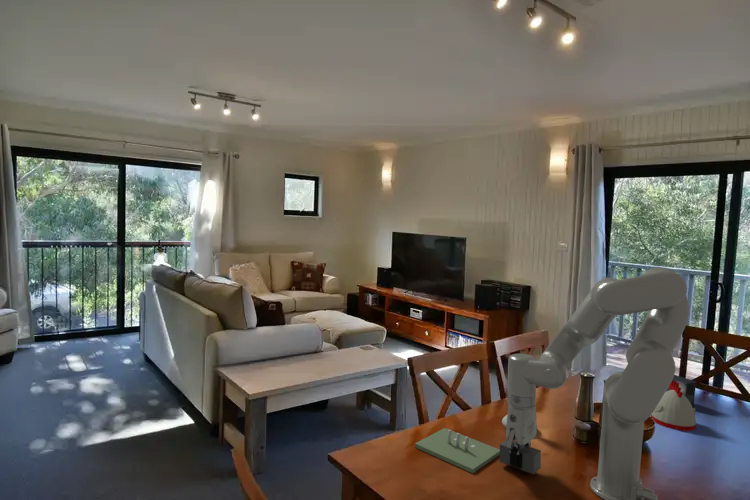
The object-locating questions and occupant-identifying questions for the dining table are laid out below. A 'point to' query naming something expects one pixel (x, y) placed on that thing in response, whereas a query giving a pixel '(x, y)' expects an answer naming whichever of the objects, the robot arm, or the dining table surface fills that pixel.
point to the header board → (458, 449)
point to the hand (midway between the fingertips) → (519, 462)
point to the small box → (686, 387)
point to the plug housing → (523, 457)
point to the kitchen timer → (675, 410)
